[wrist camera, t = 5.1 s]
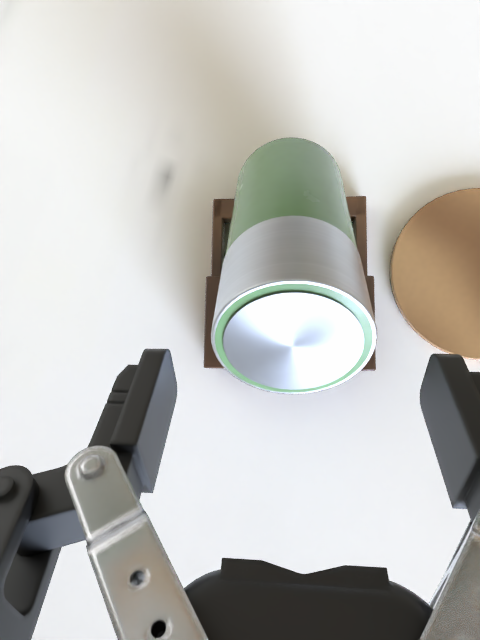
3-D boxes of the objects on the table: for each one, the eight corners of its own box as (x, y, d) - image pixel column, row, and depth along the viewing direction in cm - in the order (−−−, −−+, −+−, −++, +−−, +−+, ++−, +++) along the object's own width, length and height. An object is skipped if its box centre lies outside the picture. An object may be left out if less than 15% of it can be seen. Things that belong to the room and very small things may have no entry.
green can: (337, 375, 26) (391, 414, 13) (238, 373, 26) (200, 409, 14) (337, 166, 26) (390, 12, 14) (240, 169, 27) (204, 23, 14)
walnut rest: (365, 370, 25) (376, 370, 22) (211, 367, 26) (203, 367, 23) (362, 202, 26) (372, 182, 23) (215, 205, 27) (208, 186, 24)
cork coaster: (495, 396, 24) (498, 397, 24) (354, 284, 26) (355, 282, 25) (607, 262, 24) (613, 260, 24) (462, 158, 26) (465, 154, 25)
